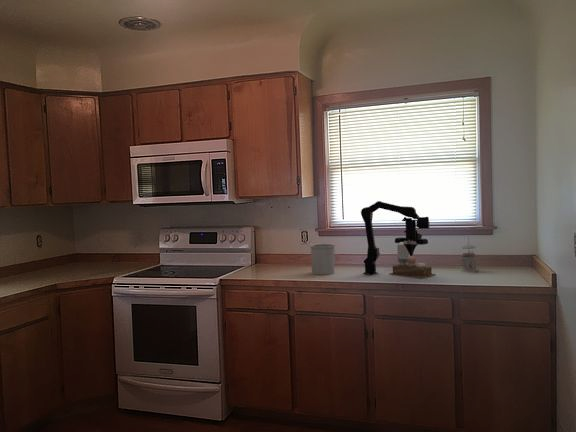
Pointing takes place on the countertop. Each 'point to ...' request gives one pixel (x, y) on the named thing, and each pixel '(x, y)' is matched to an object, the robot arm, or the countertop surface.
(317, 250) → the utensil holder
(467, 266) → the french press
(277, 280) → the countertop surface
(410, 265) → the knob mid
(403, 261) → the knob
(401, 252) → the milk carton
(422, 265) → the knob
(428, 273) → the mount
